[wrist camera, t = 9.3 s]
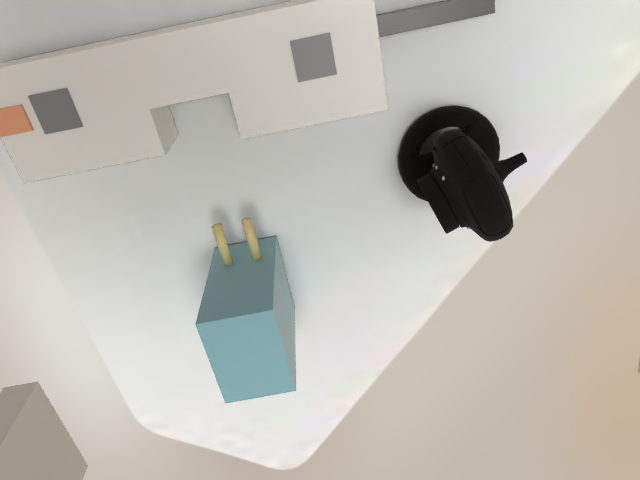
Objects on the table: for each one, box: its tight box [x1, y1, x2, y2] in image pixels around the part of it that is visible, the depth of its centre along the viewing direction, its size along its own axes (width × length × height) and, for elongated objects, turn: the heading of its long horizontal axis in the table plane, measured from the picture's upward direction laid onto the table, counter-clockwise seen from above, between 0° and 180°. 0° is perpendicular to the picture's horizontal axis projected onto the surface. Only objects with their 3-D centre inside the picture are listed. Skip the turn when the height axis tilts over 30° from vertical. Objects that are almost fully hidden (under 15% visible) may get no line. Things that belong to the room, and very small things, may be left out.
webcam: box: [398, 106, 527, 241], centre depth 35 cm, size 8×8×10 cm
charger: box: [196, 218, 296, 403], centre depth 38 cm, size 10×5×10 cm, turn 11°
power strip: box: [0, 0, 495, 184], centre depth 33 cm, size 7×32×5 cm, turn 101°
